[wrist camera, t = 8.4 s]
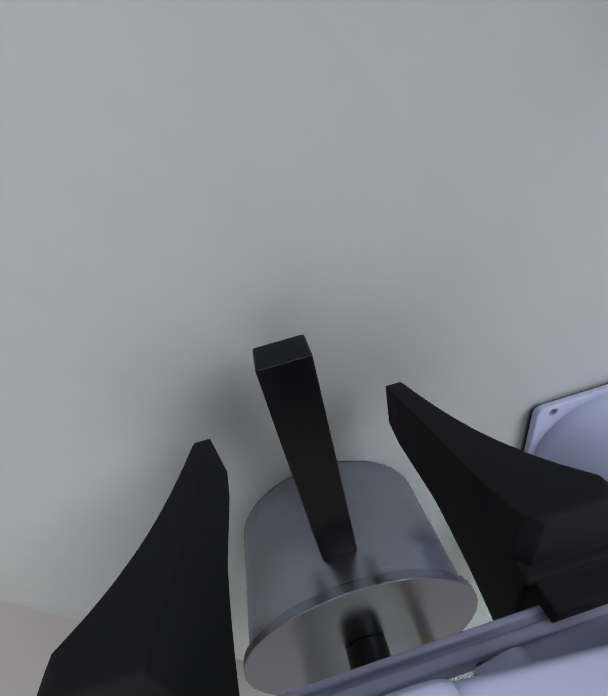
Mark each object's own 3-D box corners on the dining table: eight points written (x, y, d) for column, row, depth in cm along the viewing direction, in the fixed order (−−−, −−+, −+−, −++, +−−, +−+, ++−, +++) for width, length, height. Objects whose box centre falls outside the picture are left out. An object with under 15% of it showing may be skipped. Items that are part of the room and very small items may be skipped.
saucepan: (406, 257, 13) (570, 357, 7) (417, 539, 25) (483, 674, 19) (117, 336, 13) (8, 527, 6) (267, 589, 24) (281, 746, 18)
